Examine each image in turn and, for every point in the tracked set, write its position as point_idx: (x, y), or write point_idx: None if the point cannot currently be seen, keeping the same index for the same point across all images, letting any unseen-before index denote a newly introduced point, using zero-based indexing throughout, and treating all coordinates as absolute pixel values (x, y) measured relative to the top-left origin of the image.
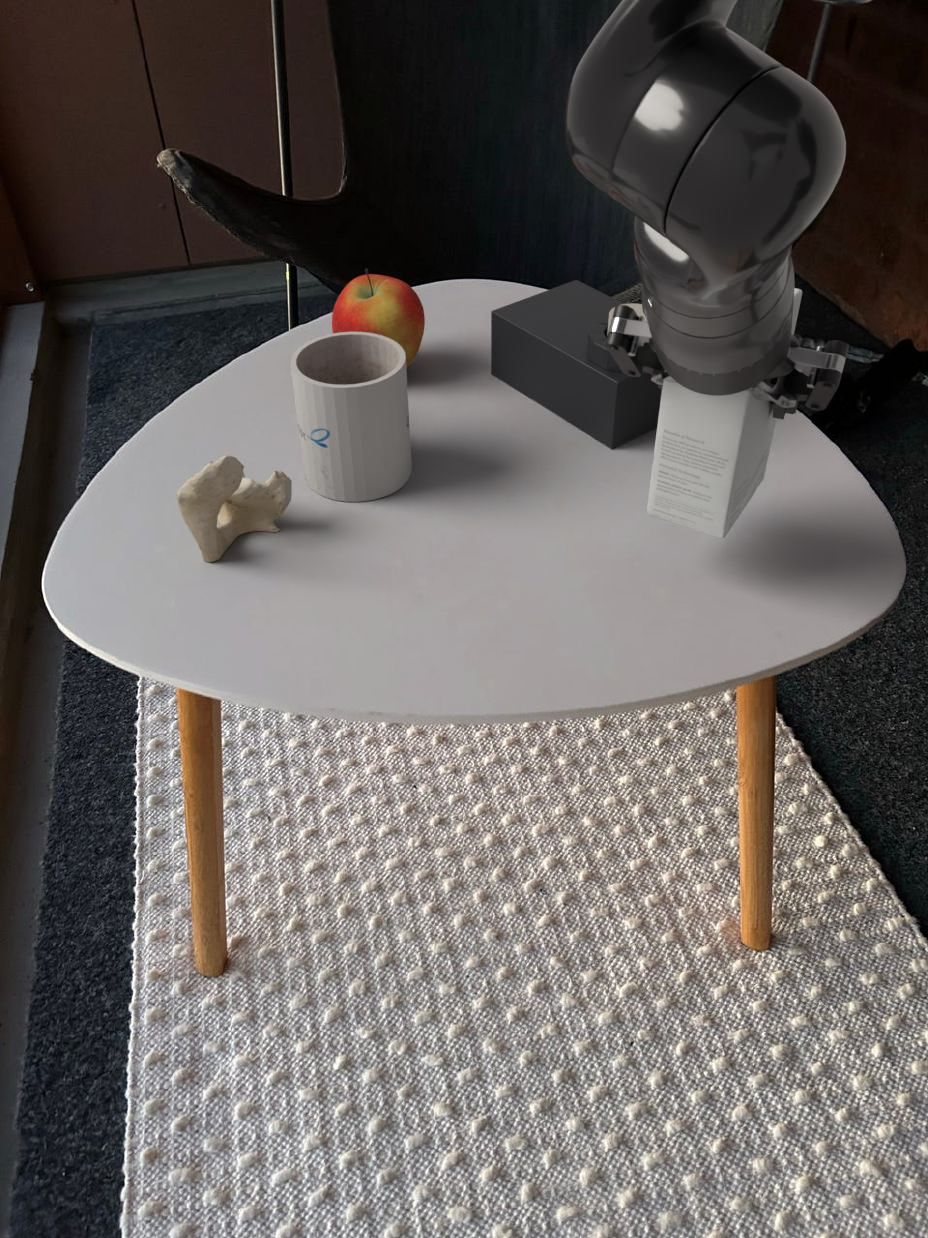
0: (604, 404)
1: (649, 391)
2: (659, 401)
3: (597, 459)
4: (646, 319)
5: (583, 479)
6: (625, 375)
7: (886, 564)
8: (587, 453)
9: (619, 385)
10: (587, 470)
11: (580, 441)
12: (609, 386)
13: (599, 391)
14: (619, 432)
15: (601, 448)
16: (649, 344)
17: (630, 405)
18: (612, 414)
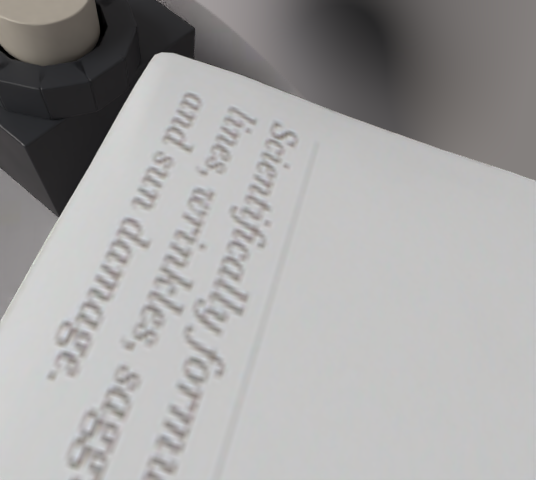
0: (22, 165)
1: (105, 128)
2: None
3: (35, 248)
4: (62, 2)
5: (7, 307)
6: (43, 123)
7: None
8: (18, 234)
9: (32, 149)
10: (16, 281)
11: (8, 204)
12: (15, 146)
13: (5, 144)
14: (66, 198)
15: (44, 218)
16: (82, 53)
17: (73, 161)
18: (40, 184)
